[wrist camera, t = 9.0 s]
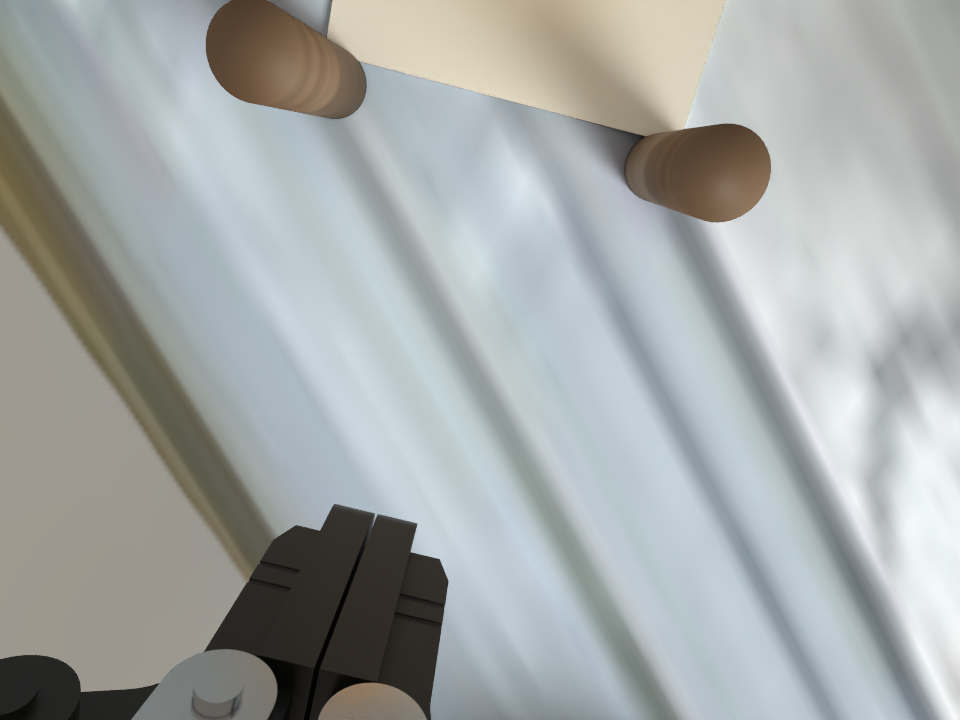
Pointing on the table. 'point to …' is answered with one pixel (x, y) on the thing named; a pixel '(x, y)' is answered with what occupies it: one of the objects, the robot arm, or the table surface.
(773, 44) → the table surface
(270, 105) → the post
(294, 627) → the robot arm
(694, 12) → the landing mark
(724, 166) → the post
